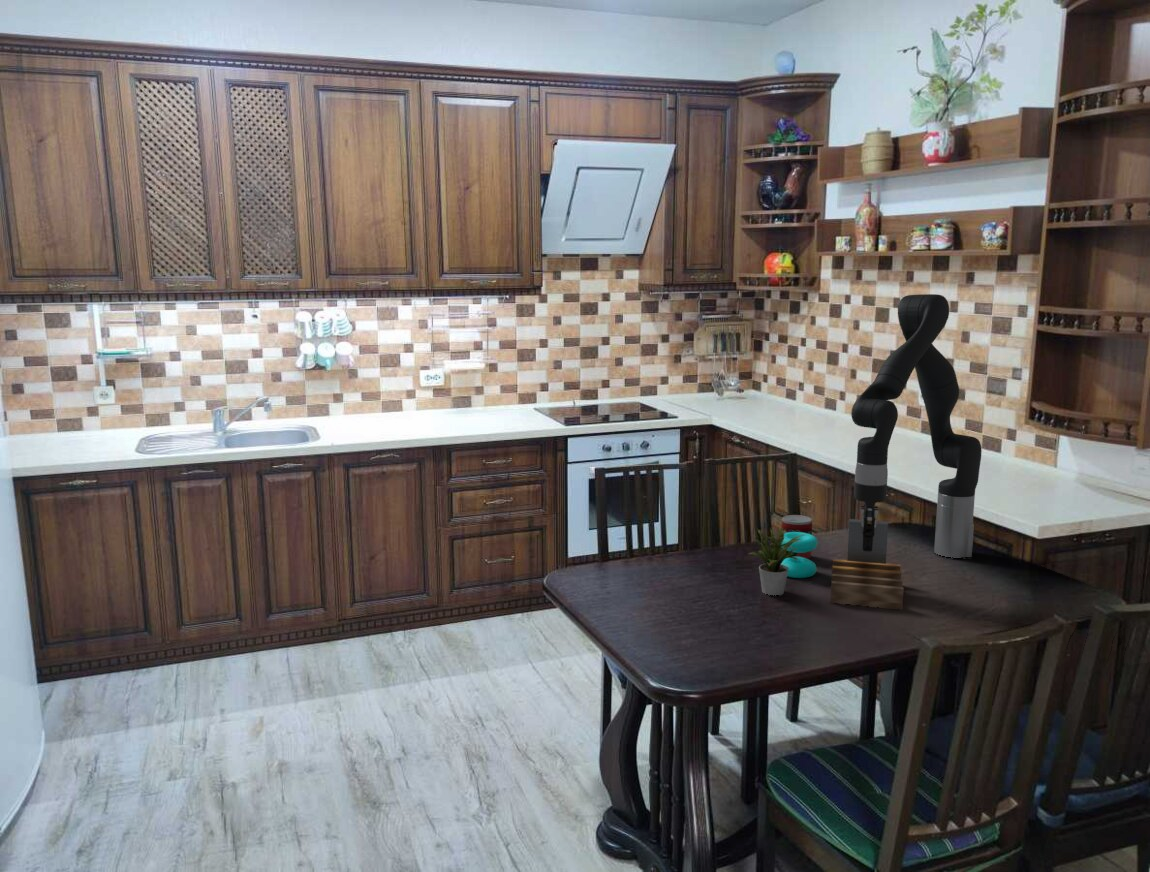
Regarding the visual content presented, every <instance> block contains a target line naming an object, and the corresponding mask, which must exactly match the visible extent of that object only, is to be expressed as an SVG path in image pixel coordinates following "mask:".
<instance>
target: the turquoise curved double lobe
mask: <svg viewBox="0 0 1150 872" xmlns="http://www.w3.org/2000/svg"><path fill="white" fill-rule="evenodd" d="M801 535H804V536H801ZM797 536H801V537H798V538H797V539H800V541H797V542H793V543H792V544H791V545H790V546H792V547H788V549H787V550H788V551H791V550H793V549H796V550H794V551H792V552H795V553H805V552H810V551H811V552H812V551H813V550H815V549H816V548H817V547H818V544H819V542H818V538H817V537H816V536H814V535H813V534H812V535H811V534H808V533H803V532H787V533H785V534H784V540H783V542H782V544H785V543H788V542H789V541H790V540H791V539H793V538H795V537H797ZM795 540H796V539H795ZM782 544H781V545H782ZM784 546H785V545H784ZM784 546H782V548H783V547H784ZM785 549H786V548H785ZM797 559H798V560H796V559H793V558H786V559H784V561H783V562H782V563H781V564H782V565H783V564H784V565H785V566H787V567H788V574H787V578H794V579H806V578H810V577H813V576H814V575H815V574H816V573H817V571H818V570H817V569H818V567H817V565H816V564H815V562H814V561H812V560H811V559H807V558H803V557H797ZM788 560H789V561H788ZM787 561H788V562H787Z"/></svg>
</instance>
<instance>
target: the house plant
mask: <svg viewBox="0 0 1150 872" xmlns="http://www.w3.org/2000/svg"><path fill="white" fill-rule="evenodd" d="M756 530H757V531H758V534H759V537H760V539H761V542H760V541H759V540H758V539H757V538H755V537H753V536H751V538H752V539H753V540H754V541H755V542H756V543H757V544H758V546H759V547H760V548H761V550H757V552H755V551H751V552H748V555H753V556H757V557H760V558H761V559H762V560H763V561H764V562H765V563H763V564H760V565H759V566H758V571H759V578H760V584H761V592H762V593H763V594H764V593H765V594H764V595H766V594H768V595H767V596H770V595H773V596H772V597H777V596H776V595H779V596H782V595H784V593H785V588H786V583H787V578H788V576H787V574H788V567H787V566H785V565H784V564H783V565H782V564H781V563H782V562H783V561H784V559H786V558H793V559H796V560H798V559H797V557H792V556H790V555H793V554H794V553H792V551H794V550H796V549H793V550H791V551H789V552H787V553H786V554H784V553H785V552H786V551H788V550H787V549H788V547H792V546H790V545H791V544H792V543H793V542H797V541H800V539H797V538H798V537H801V536H804V535H801V536H797V537H795V538H793V539H791V540H790V541H789V542H788V543H785V544H782V542H783V540H784V534H785V530H784V531H783V528H782V527H781V530H780V532H779V534H778V537H777V539H776V538H775V535H774V532H773V529H772V528H771V527H769V530H770V536H769V537H768V538H769V539H770V541H771V542H770V545H769V543H768V539H767V537H766V535H765V534H764V533H763V532H762V530H760V529H758V528H756ZM795 539H796V540H795ZM781 544H782V545H781ZM784 545H785V546H784ZM782 546H784V547H783V548H782V550H781V547H782ZM785 548H786V549H785ZM781 554H782V555H781ZM788 561H789V560H788ZM788 561H787V562H788ZM774 595H775V596H774Z"/></svg>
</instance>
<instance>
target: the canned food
mask: <svg viewBox="0 0 1150 872" xmlns="http://www.w3.org/2000/svg"><path fill="white" fill-rule="evenodd" d="M782 528H783V531H784V530H785V533H787V532H803V533H808V534H811V535H813V531H812V530H813V519H812V517H809V516H806V515H799V514H790V515H788V514H787V515H785V516H783V517H782V518H781V529H782ZM781 550H782V547H781V548H780V551H781ZM787 552H789V551H786V552H785V553H784V554H786V553H787ZM792 553H794V554H793V555H790V556H792V557H803V558H807V559H809V560H811V557H812V556H811V555H812V551H810V552H805V553H795V552H792ZM781 555H782V554H781Z"/></svg>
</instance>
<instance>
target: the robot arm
mask: <svg viewBox="0 0 1150 872" xmlns="http://www.w3.org/2000/svg"><path fill="white" fill-rule="evenodd" d="M949 317H950V304H949V301H948V300H947V298H946V297H945V296H944V295H942V294H938V293H937V294H936V293H935V294H934V293H931V294H930V293H929V294H927V293H925V294H908V295H904V296H903V297H902V298H901V299H900V300H899V302H898V306H897V318H898V323H899V326H900V329H901V332H902V335H903V337H904V339H905V342H904V343H902V344H901V345H900V346H898V348H897V349H895V350H894V351H892V353H890V355H889V356H888V357H887V358H886V359H885V360H884V362H883V363H882V364H881V367H880V369H879V371H878V373H877V375H876V377H875V378H874V380H873V381H872V382H871V384H869V386H868V387H867V388H866V389H865V390H864V391H863V392H862V393H861V394H860V395H859V396H858V398H857V399H855V401H854V404H853V405H852V408H851V413H850V414H851V419H852V421H853V423H854V424H855V425H856V426H857V427H862V428H869V429H875V433H874V435H873V436H866V437H865V436H864V437H862V438H860V439H859V440H858V441H857V452H856V454H857V455H856V465H855V469H854V470H855V471H854V473H855V474H854V487H853V489H854V490H853V491H854V492H853V497H854V499H855V500H856V501H859V502H863V505H862V504H861V505H860V514H861V515H860V516H861V519H860V520H862V523H861V525H862V527H863V533H862V535H863V551H869V552H871V551H872V545H873V536H874V528H875V527H876V521H878V520H877V517H878V515H879V508H878V507H879V506H878V505H876V504H878V503H883V502H885V501H886V500H887V495H888V494H887V491H888V476H889V475H888V474H889V473H888V457H889V456H888V454H889V453H888V452H889V445H890V442H891V438H892V435H893V432H894V430H895V427H896V424H897V421H898V416H899V411H898V408H897V406H896V404H895V403H894V402H893V401H892V400H897V399H898V398H900V396H901V395H902V393H903V392H904V389H905V388H906V385H907V383H908V382H909V379H910V377H911V375H912V373H913V371H914V369H915V373H916V378H917V382H918V386H919V390H920V394H921V397H922V400H923V403H924V407H925V411H926V415H927V420H928V421H927V422H928V425H929V432H930V440H931V447H932V452H933V456H934V458H935V460H936V462H937V463H938V464H939V465H940V466H943V467H946V468H952V469H956V473H955V476H954V477H953V478H947V479H943V480H941V481H940V482H938V489H937V490H938V491H937V504H936V517H935V519H936V520H935V535H934V546H933V547H934V548H933V549H934V551H933V552H934V553H936V554H935V555H937V554H938V555H937V556H939V555H941V556H940V557H942V556H945V557H944V558H946V557H951V558H950V559H953V558H961V557H972V556H973V555H972V554H973V542H974V532H975V529H974V527H975V524H974V511H975V509H974V508H975V499H976V497H975V496H976V489H977V485H978V483H979V476H980V470H981V469H980V468H981V467H980V466H981V459H982V451H983V450H982V444H981V442H980V440H979V439H978V438H977V437H975V436H971V435H964V434H958V433H954V431H953V428H952V424H951V415H952V413H953V410H954V408H955V407H956V406H957V403H958V400H959V397H960V386H959V382H958V379H957V375H956V371H955V368H954V367H953V365H952V364H951V362H950V361H949V360H948V359H947V358H946V357H945V356H944V355H943V353H941V352H940V351H939V349H937V348H936V347H935V346H934V345H933V343H934V342H935V340H936V339H937V338H938V336H939V335H940V333H941V332H942V331H943V329H944V327H945V326H946V324H947V322H948V319H949ZM866 529H870V530H872V531H866ZM952 557H953V558H952Z"/></svg>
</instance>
